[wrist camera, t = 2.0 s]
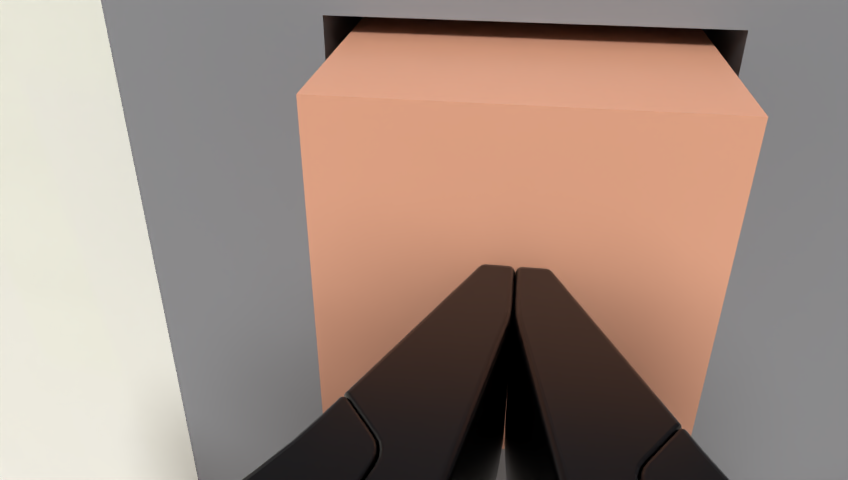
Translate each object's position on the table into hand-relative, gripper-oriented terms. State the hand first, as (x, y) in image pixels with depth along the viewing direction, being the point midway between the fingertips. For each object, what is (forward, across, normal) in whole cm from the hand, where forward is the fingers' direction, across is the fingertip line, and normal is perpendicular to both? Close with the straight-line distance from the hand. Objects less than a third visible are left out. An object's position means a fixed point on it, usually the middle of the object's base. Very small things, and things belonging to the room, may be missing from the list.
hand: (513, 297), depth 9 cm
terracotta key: (+4, 0, 0) cm, 4 cm away
